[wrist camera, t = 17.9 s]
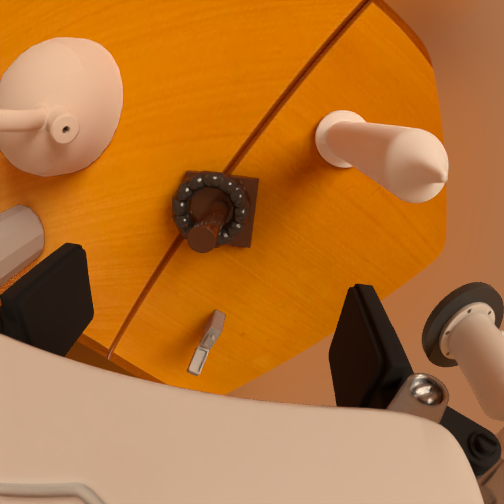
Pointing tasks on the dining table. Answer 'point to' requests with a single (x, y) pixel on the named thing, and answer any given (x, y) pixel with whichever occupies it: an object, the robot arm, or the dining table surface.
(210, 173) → the studded rubber donut
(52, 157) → the kettle
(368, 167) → the candle
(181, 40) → the dining table surface
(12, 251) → the jar
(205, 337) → the lighter
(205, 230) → the square plate with peg
